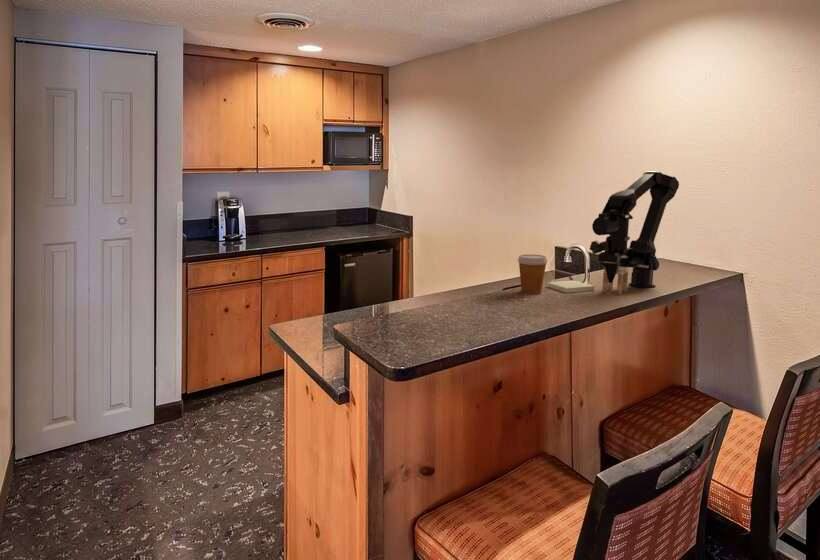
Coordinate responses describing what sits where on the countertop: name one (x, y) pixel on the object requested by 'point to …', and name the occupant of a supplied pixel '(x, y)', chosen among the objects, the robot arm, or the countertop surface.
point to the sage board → (570, 286)
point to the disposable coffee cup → (532, 273)
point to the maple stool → (622, 280)
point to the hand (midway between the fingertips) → (615, 280)
